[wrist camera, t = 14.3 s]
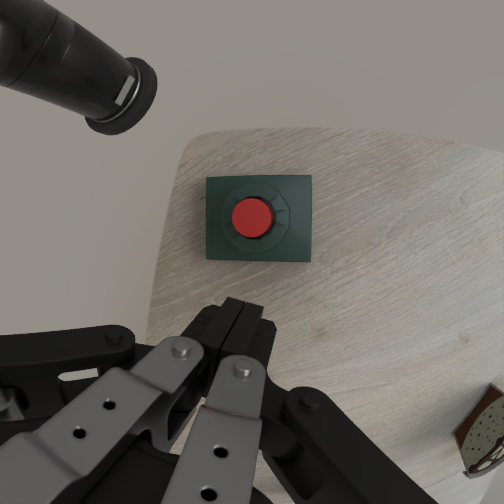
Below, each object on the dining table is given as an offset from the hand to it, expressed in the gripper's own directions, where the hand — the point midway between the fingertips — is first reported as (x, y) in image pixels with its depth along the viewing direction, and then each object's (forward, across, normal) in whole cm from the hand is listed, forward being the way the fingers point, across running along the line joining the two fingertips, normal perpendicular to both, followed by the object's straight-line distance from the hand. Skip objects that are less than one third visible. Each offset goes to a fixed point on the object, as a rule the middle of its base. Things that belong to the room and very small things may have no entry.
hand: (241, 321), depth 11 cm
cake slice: (+15, -37, +17) cm, 43 cm away
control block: (+18, +3, -1) cm, 18 cm away
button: (+14, +3, -2) cm, 15 cm away
